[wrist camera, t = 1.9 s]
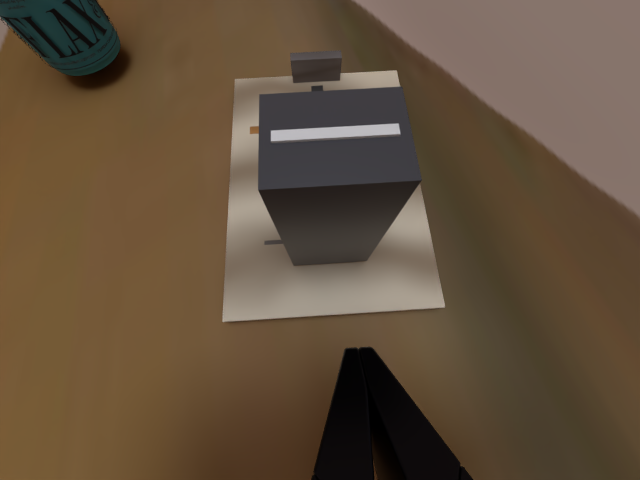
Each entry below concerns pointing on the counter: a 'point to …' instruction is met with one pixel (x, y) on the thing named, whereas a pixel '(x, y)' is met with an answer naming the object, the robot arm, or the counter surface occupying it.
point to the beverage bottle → (64, 32)
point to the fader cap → (335, 169)
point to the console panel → (268, 249)
